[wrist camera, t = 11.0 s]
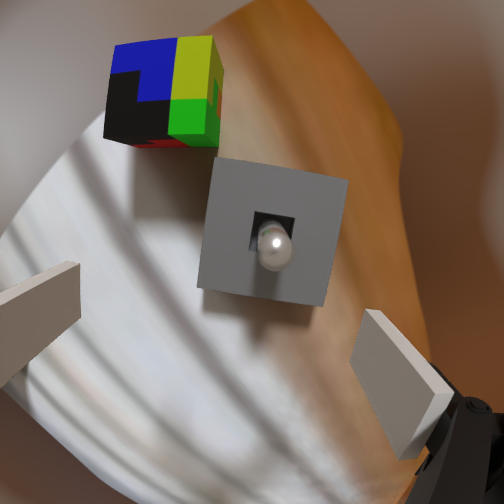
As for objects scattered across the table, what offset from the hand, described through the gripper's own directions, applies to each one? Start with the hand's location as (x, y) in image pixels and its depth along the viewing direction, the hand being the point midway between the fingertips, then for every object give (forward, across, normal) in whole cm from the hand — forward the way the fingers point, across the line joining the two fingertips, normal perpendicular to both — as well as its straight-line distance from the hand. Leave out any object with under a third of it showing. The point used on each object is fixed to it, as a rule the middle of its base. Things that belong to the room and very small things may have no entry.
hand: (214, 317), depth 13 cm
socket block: (+25, +4, +1) cm, 25 cm away
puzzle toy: (+26, -10, +14) cm, 31 cm away
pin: (+24, +4, +1) cm, 24 cm away
